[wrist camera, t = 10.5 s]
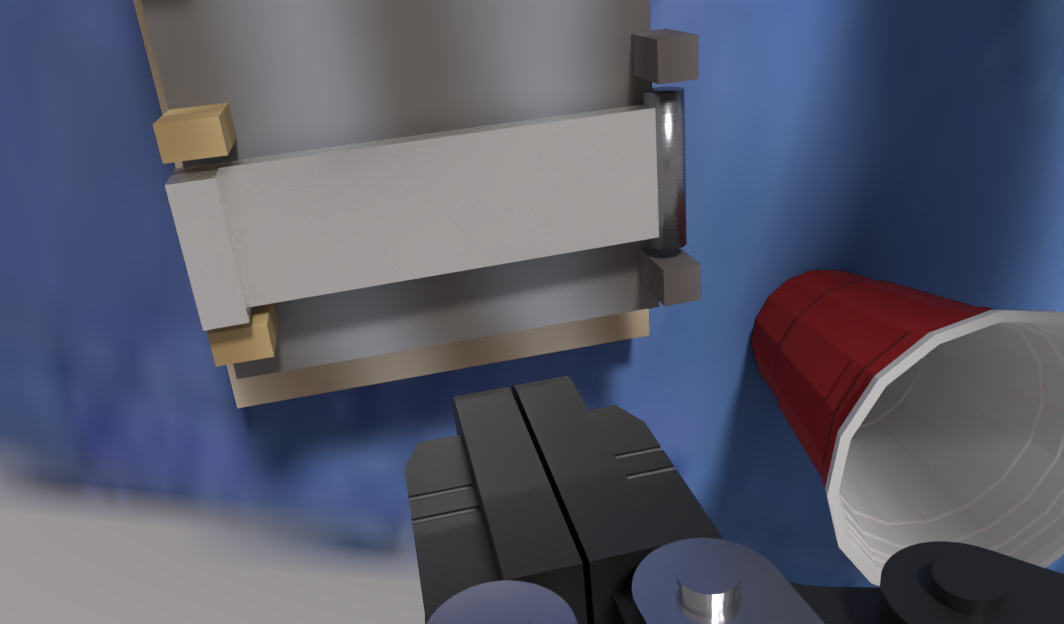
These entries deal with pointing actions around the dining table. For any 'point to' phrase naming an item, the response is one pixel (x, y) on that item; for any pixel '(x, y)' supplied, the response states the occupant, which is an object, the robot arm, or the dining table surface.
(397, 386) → the dining table surface
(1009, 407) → the plastic cup
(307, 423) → the dining table surface
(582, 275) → the heat sink base
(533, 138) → the strap
